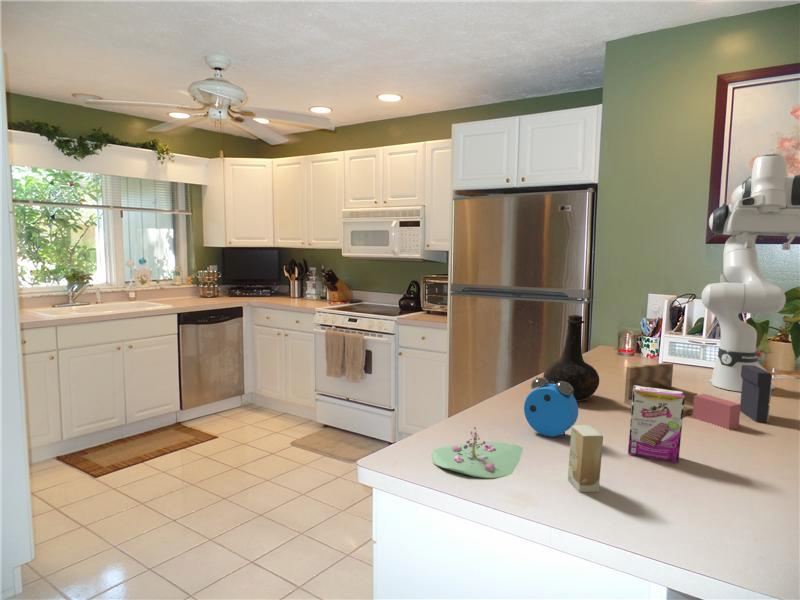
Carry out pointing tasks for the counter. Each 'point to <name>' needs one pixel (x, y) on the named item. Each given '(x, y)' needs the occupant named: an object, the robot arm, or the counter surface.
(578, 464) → the skincare box
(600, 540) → the counter surface
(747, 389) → the stepped charcoal slab
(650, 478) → the counter surface
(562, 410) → the alarm clock
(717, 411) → the boxed book
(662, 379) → the wooden shelf rack
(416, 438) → the counter surface
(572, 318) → the glass bottle
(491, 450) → the plant
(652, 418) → the candy bar box
